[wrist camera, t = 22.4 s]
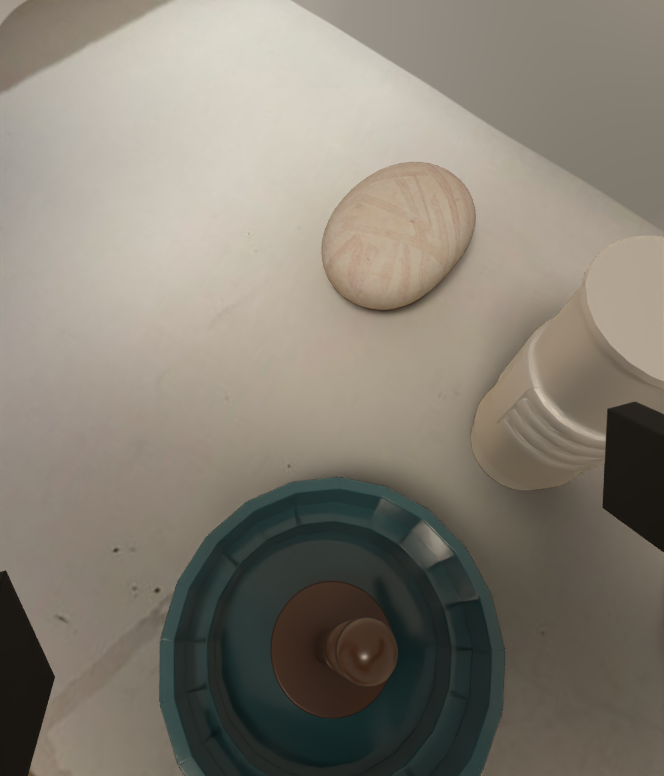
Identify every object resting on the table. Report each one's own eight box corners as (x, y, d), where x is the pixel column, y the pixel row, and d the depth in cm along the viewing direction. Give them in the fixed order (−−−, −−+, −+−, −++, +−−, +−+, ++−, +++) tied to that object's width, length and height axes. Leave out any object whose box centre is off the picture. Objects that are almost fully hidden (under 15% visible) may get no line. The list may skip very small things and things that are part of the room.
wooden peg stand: (250, 671, 26) (206, 706, 12) (307, 566, 28) (325, 495, 14) (351, 735, 25) (428, 851, 11) (402, 621, 27) (517, 602, 14)
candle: (456, 391, 34) (565, 229, 21) (561, 395, 35) (734, 238, 21) (468, 497, 31) (604, 389, 18) (582, 499, 32) (800, 395, 18)
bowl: (126, 709, 25) (82, 728, 20) (279, 463, 31) (277, 426, 26) (389, 886, 23) (419, 960, 18) (501, 587, 29) (549, 575, 24)
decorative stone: (397, 178, 42) (410, 123, 37) (491, 241, 40) (516, 190, 35) (287, 273, 37) (286, 223, 33) (386, 350, 35) (401, 307, 31)
